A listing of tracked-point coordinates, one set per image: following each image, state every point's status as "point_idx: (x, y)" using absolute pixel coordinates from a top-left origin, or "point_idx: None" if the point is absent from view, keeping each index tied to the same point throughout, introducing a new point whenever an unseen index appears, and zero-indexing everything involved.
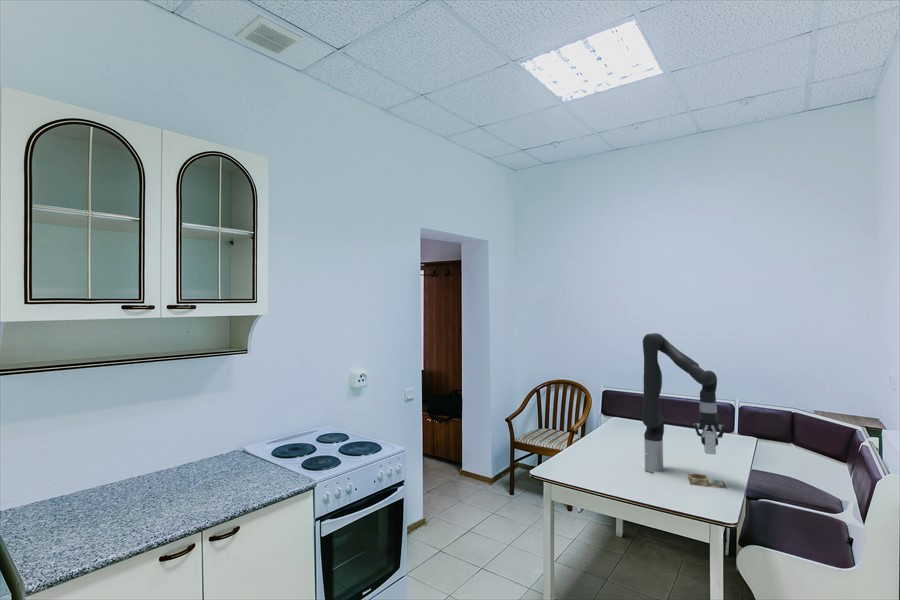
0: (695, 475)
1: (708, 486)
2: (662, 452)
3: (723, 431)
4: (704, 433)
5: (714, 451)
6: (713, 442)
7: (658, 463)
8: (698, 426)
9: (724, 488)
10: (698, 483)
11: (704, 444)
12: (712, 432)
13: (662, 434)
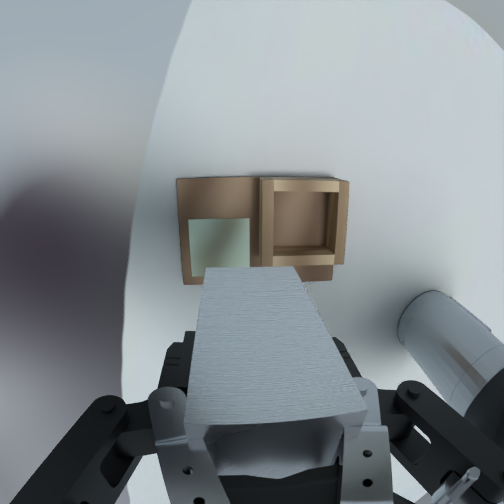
0: (311, 253)
1: (260, 177)
2: (445, 358)
3: (45, 463)
4: (357, 423)
5: (216, 278)
6: (220, 329)
7: (441, 313)
8: (457, 493)
9: (190, 178)
10: (306, 178)
11: None
12: None
13: (488, 420)
